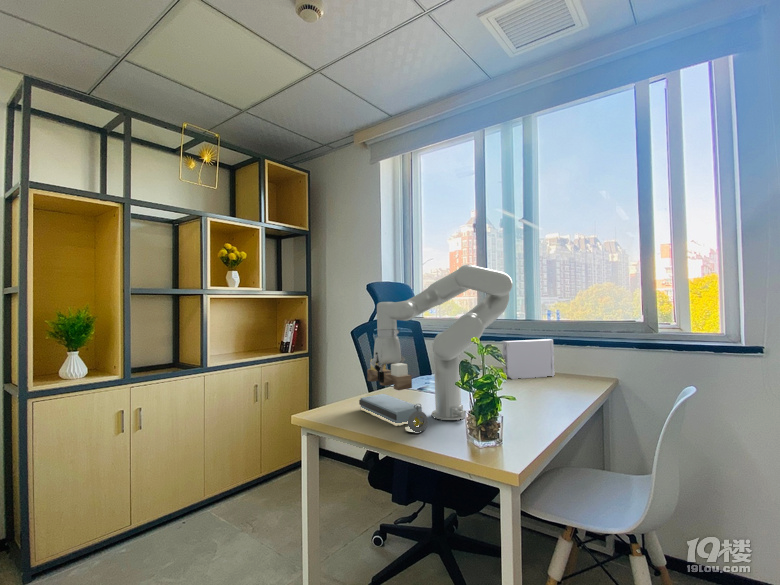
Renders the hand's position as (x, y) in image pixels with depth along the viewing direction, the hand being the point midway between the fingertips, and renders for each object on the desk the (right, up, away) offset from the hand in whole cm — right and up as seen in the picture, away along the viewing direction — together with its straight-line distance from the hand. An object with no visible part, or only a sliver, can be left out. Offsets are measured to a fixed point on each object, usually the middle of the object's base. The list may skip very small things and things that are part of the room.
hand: (388, 380), depth 147 cm
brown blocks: (0, -1, 0) cm, 1 cm away
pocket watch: (+9, -13, -20) cm, 25 cm away
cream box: (+4, +3, -6) cm, 8 cm away
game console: (+77, -13, +62) cm, 99 cm away
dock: (0, -13, 0) cm, 13 cm away
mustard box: (-4, +3, +6) cm, 8 cm away
